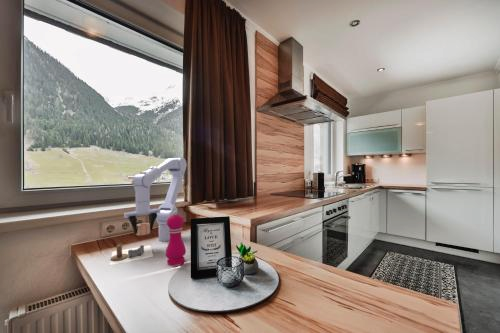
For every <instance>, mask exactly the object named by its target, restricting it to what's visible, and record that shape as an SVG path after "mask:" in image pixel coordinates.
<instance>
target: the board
mask: <svg viewBox="0 0 500 333" xmlns="http://www.w3.org/2000/svg"><path fill="white" fill-rule="evenodd" d="M138 248H140V246H139V247H132V248H127V249H126V248H125V249H122V254H128V250H136V249H138ZM115 255H117V250H114V251H112V252H111V257H112V256H115ZM111 257H110V258H111ZM148 258H154V254H153V250H152V246H151V245H150V244H149V245H144V253H142V255H141V256H136V257H132V258H128V257H127V258H126V259H124V260H120V261H111V259H110V261H109V266H113V265H117V264H125V263H129V262H134V261H140V260H144V259H148Z"/></svg>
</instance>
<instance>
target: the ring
mask: <svg viewBox="0 0 500 333" xmlns="http://www.w3.org/2000/svg"><path fill="white" fill-rule="evenodd" d="M149 234H151V231H150V223H149V222H142V223H138V224H137V233H136V234H135V235H136V236H146V235H149Z"/></svg>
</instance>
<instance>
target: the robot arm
mask: <svg viewBox="0 0 500 333" xmlns="http://www.w3.org/2000/svg"><path fill="white" fill-rule="evenodd" d="M187 166H188V164H187V160H186V159H185V158H184V157H183V156H182V157H172V158H171V157H168V158H167V159H165V160H164V161H163V162H162V163H160V164H159V165H158V166H150V167H149V169H147V170H144V171H142V173H140V174H135V176H134V177H133V178H132V180H131V184H132V186H133V191H135V210H134V211H129V212H124V213H123V218H124V219H128V221H129V223H130V224H131V227H132V231H133V234H135V235H136V233H137V223H138V218H137V217H139V216H140V217H141V216H147V215H148V223H150V232H151V231H153V228H154V224H155V221H156V223H157V224H158V241H159V242H169V240H170V233H169V232H168V231H169V230H168V229H169V227H168V225H167V220H168V218H169V217H170V216H172V215H173V212H174V211H177V212H178V207H176V202H177V198H178V195H179V192H180V189H181V186H182V182H183V179H184V175H185V173H186V169H187ZM165 171H168V172H169V174H170V175H172V178H171V181H170V185H169V187H168V189H167V194H166V196H165V199H164V202H163V203H162V204H160V205H159V206H158V208H151V203H150V202H151V201H150V200H151V196H150V195H151V194H150V188H151V187H152V185H153V183H154V181H155V180H157V179H159V178H160V177H161V175H162V173H163V172H165Z"/></svg>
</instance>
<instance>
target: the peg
mask: <svg viewBox="0 0 500 333" xmlns="http://www.w3.org/2000/svg"><path fill="white" fill-rule="evenodd" d="M122 250H123V245H122V244H117V245H116V251H117V255H115V256H112V255H111V256H112V257H110V260H111V261H120V260H124V259H126V258H127V257H128V254H122Z"/></svg>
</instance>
